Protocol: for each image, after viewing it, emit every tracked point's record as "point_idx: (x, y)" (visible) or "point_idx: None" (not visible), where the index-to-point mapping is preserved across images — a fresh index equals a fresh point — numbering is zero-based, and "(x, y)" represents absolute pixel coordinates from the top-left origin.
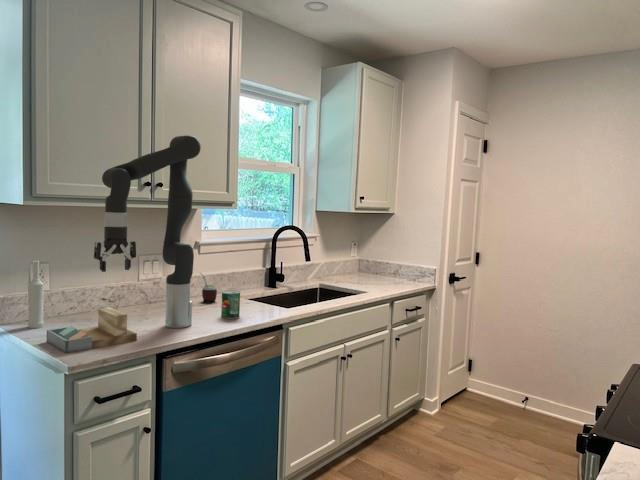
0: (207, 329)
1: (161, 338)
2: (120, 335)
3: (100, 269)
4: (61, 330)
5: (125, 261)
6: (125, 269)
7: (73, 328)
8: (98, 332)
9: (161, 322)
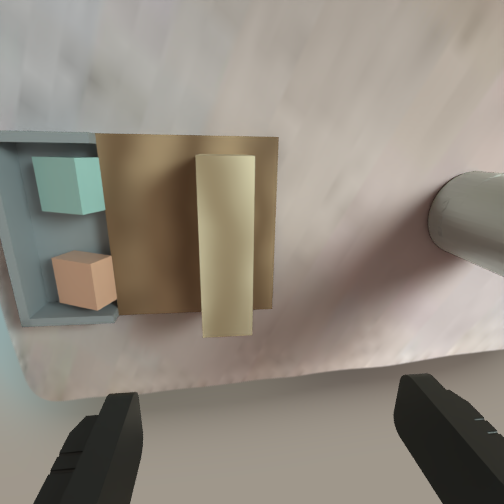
0: (487, 307)
1: (333, 318)
2: None
3: (82, 434)
4: (43, 142)
5: (475, 477)
6: (401, 384)
7: (76, 200)
8: (174, 225)
9: (464, 132)
